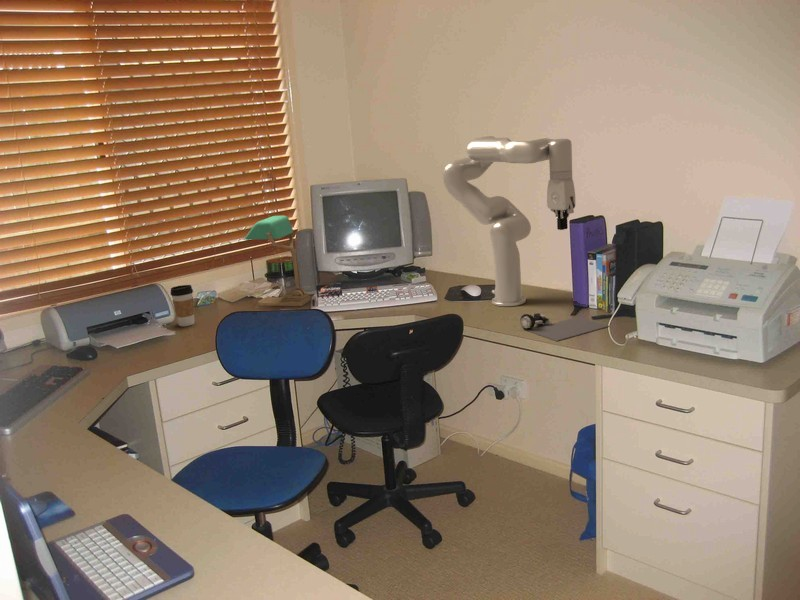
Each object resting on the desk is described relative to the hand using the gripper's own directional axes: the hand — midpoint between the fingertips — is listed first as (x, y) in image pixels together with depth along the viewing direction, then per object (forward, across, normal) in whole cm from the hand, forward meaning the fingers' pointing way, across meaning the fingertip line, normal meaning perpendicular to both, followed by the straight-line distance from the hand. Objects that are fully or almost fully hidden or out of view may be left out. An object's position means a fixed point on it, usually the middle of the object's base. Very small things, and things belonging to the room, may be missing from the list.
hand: (562, 229), depth 269 cm
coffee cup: (+29, -87, -113) cm, 146 cm away
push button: (+28, +8, -15) cm, 33 cm away
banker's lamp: (+29, -88, -73) cm, 118 cm away
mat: (+29, +18, -14) cm, 37 cm away
